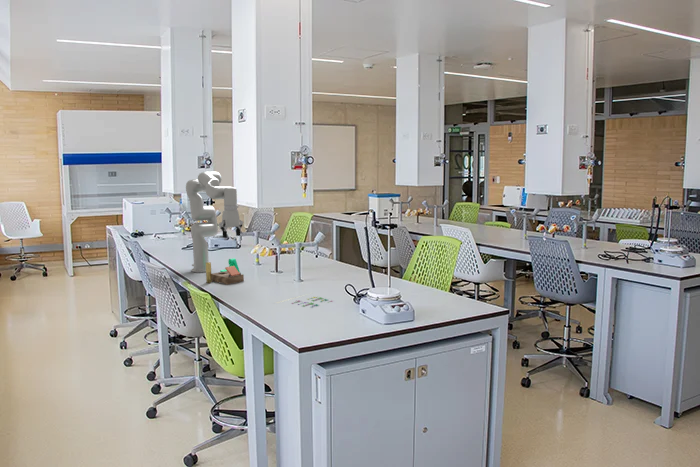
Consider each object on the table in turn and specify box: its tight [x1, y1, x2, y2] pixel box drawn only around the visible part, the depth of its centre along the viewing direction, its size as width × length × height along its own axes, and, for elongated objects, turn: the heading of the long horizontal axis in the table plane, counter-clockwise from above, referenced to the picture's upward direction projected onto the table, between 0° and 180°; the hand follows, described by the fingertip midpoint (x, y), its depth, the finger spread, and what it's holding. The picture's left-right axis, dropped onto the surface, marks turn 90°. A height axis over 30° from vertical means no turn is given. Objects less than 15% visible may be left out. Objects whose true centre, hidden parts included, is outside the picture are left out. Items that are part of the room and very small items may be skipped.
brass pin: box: [205, 262, 213, 284], centre depth 337 cm, size 3×3×12 cm
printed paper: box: [275, 292, 334, 308], centre depth 290 cm, size 30×30×2 cm
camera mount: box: [219, 258, 241, 273], centre depth 360 cm, size 12×8×10 cm, turn 40°
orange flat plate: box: [224, 266, 241, 276], centre depth 338 cm, size 7×6×1 cm
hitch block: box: [211, 271, 245, 285], centre depth 342 cm, size 17×12×5 cm
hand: (231, 236), depth 339 cm, fingers open, 9 cm apart
